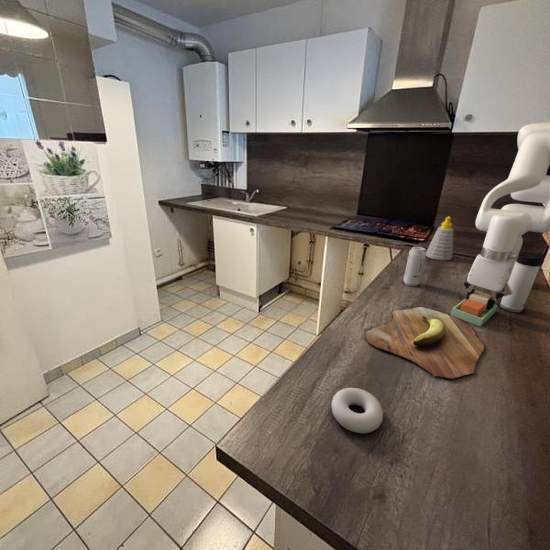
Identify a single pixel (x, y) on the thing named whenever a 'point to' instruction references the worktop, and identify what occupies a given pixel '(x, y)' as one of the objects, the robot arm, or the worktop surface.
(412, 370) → the worktop surface
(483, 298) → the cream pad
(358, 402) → the donut
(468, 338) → the cutting board
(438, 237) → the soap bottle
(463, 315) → the tray
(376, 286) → the worktop surface
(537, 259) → the travel mug
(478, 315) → the orange block
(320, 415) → the worktop surface
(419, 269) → the energy drink can
